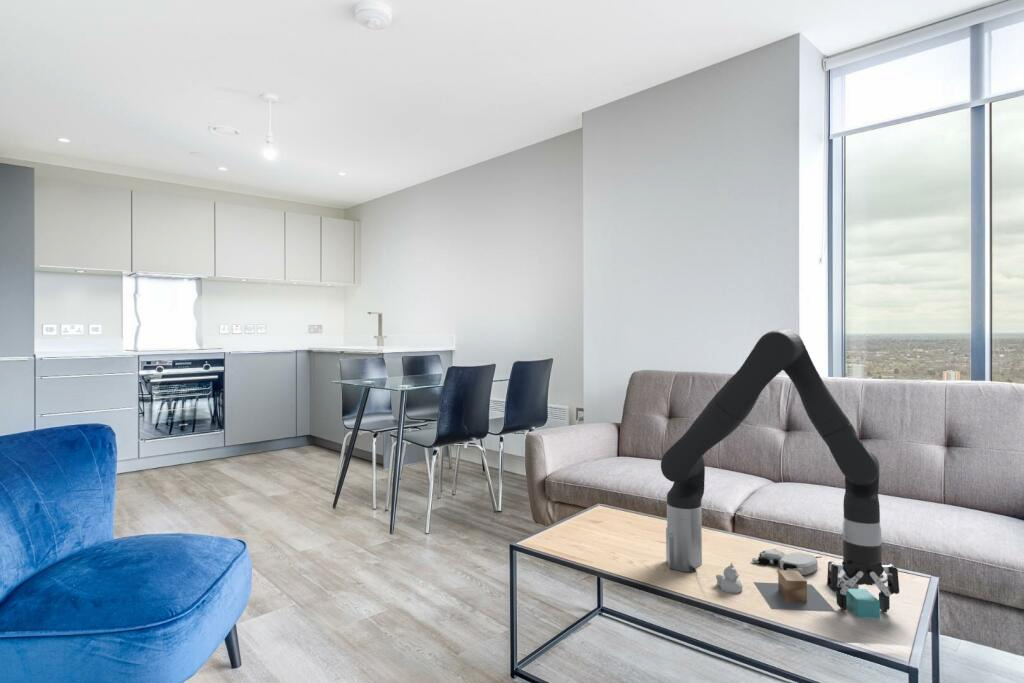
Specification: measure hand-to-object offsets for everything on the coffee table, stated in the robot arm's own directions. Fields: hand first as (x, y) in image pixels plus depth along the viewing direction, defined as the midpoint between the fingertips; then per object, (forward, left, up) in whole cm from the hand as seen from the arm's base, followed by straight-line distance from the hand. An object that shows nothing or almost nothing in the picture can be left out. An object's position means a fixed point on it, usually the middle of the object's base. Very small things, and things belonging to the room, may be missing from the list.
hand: (863, 609), depth 128 cm
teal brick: (0, 0, -2) cm, 2 cm away
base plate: (-13, +6, -2) cm, 15 cm away
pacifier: (+12, +22, -2) cm, 25 cm away
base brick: (-13, +6, 0) cm, 14 cm away
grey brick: (+1, +12, -2) cm, 12 cm away
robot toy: (-8, +25, -2) cm, 27 cm away
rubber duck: (-27, +9, -2) cm, 29 cm away
